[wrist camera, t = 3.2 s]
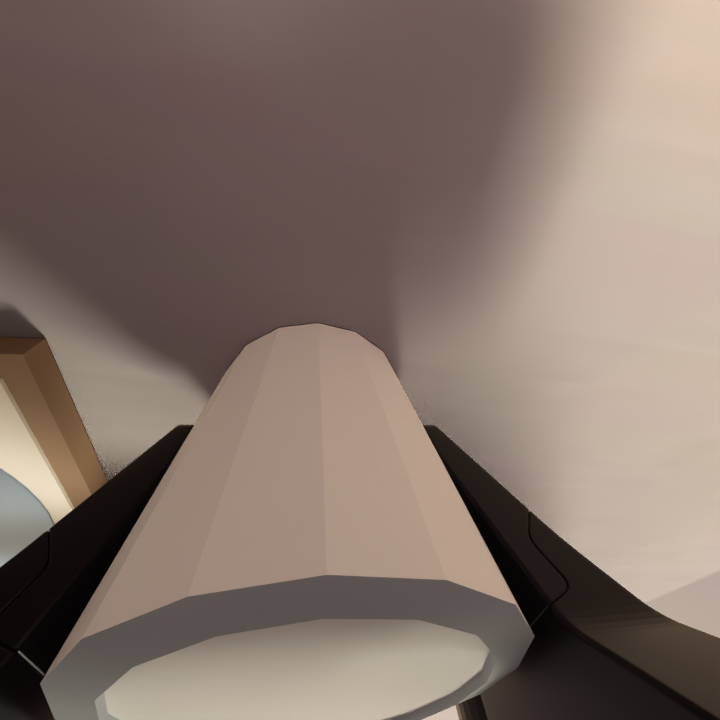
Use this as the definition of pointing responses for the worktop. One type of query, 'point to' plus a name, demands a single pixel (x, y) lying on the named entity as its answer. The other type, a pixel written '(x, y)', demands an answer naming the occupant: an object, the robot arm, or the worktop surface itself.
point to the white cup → (296, 561)
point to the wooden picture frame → (39, 446)
